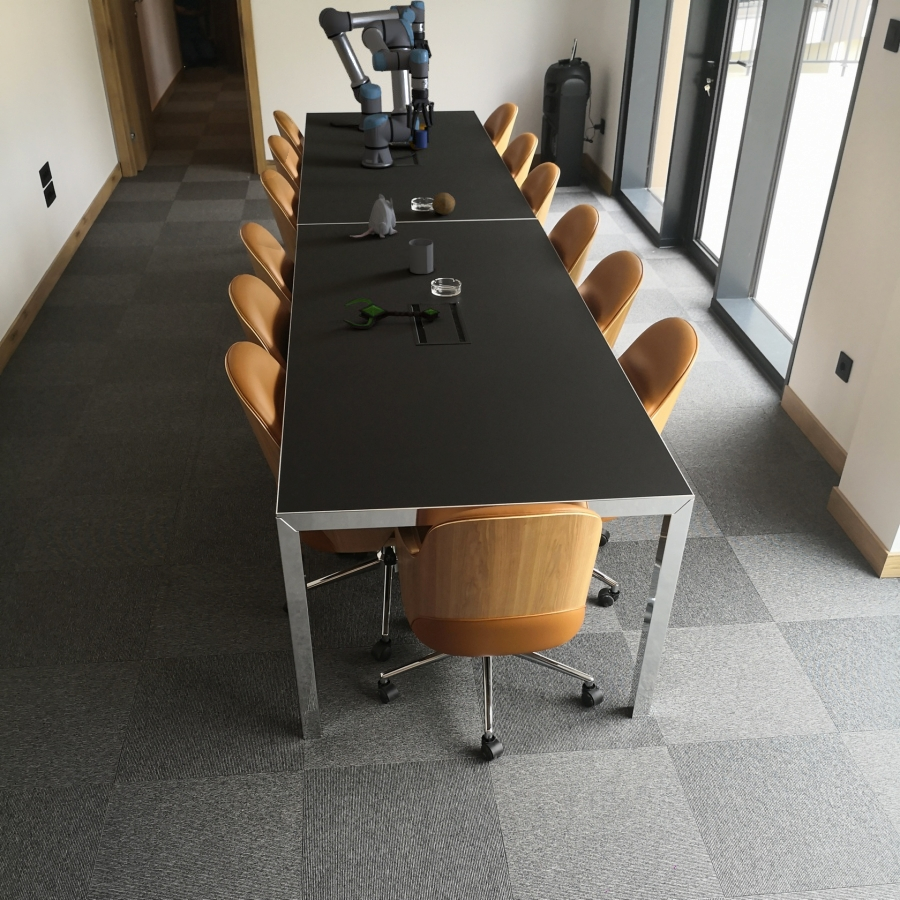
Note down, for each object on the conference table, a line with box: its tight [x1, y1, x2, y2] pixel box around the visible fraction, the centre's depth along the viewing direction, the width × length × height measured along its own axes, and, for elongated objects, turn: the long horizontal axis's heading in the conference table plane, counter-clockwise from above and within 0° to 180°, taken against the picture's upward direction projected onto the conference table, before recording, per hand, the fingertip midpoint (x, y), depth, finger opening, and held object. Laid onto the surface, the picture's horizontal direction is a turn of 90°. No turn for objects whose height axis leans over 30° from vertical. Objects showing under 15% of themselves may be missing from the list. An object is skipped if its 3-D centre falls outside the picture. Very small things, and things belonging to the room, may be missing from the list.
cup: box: [408, 237, 434, 275], centre depth 305 cm, size 8×8×10 cm
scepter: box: [342, 297, 441, 330], centre depth 270 cm, size 6×13×30 cm
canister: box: [415, 129, 428, 150], centre depth 388 cm, size 6×6×7 cm
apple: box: [408, 123, 426, 151], centre depth 451 cm, size 11×11×13 cm
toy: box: [350, 193, 398, 239], centre depth 333 cm, size 9×24×15 cm, turn 137°
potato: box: [431, 192, 456, 216], centre depth 360 cm, size 10×14×8 cm
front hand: (420, 143), depth 389 cm, fingers closed on canister, 6 cm apart
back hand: (418, 72), depth 498 cm, fingers open, 13 cm apart
